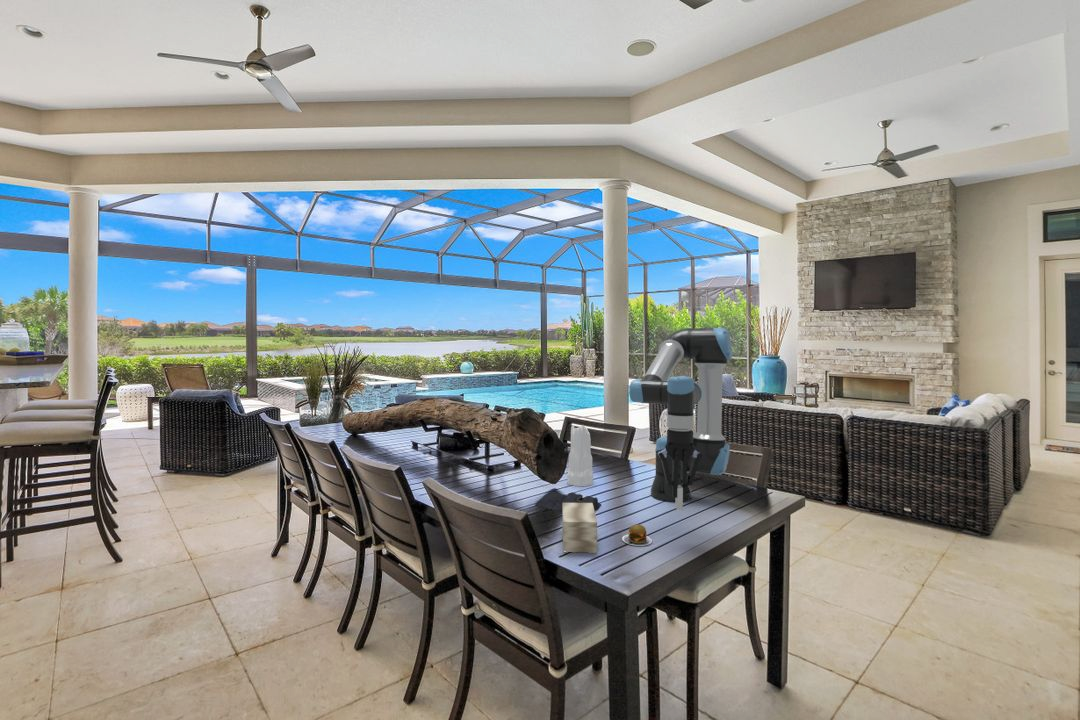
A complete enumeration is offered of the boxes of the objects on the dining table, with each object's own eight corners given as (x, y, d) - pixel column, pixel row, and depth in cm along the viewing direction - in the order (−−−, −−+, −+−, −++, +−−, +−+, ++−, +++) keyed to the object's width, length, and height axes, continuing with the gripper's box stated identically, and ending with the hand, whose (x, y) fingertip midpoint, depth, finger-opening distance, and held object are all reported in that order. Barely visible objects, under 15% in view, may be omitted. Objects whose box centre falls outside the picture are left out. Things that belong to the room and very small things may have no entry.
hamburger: (612, 536, 157) (612, 518, 157) (649, 534, 158) (649, 517, 158) (622, 552, 145) (622, 533, 145) (663, 550, 146) (663, 531, 146)
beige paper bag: (592, 530, 160) (592, 502, 160) (597, 552, 143) (597, 522, 143) (562, 530, 160) (562, 502, 160) (563, 552, 143) (563, 521, 143)
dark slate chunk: (554, 496, 197) (554, 484, 196) (605, 507, 184) (605, 494, 184) (531, 507, 184) (531, 494, 184) (583, 519, 171) (583, 505, 171)
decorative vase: (568, 478, 220) (568, 421, 219) (593, 479, 218) (593, 422, 217) (566, 486, 209) (566, 425, 208) (592, 487, 207) (592, 426, 206)
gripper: (698, 427, 153) (697, 504, 154) (655, 426, 153) (654, 504, 154) (706, 431, 146) (704, 512, 146) (660, 430, 146) (659, 512, 146)
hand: (678, 508), depth 150 cm, fingers closed
